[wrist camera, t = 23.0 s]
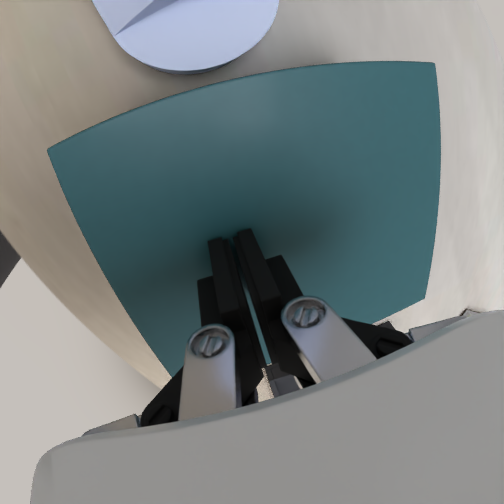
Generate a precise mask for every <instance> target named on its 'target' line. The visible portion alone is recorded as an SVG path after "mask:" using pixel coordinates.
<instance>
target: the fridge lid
mask: <svg viewBox="0 0 504 504" xmlns="http://www.w3.org/2000/svg"><path fill="white" fill-rule="evenodd" d="M47 152H48V155H49V157H50V160H51V163H52V165H53V168H54V170H55V173H56V175H57V178H58V180H59V183H60V185H61V188H62V190H63V192H64V194H65V197H66V199H67V201H68V204H69V206H70V208H71V210H72V212H73V214H74V217H75V219H76V221H77V223H78V225H79V227H80V229H81V231H82V233H83V235H84V237H85V239H86V241H87V243H88V245H89V247H90V249H91V251H92V253H93V255H94V256H95V258H96V260H97V262H98V264H99V266H100V267H101V269H102V271H103V273H104V275H105V276H106V278H107V280H108V282H109V283H110V285H111V287H112V289H113V290H114V292H115V294H116V295H117V297H118V299H119V300H120V302H121V303H122V305H123V307H124V308H125V310H126V312H127V313H128V315H129V316H130V318H131V319H132V321H133V322H134V324H135V326H136V327H137V329H138V330H139V332H140V333H141V335H142V336H143V338H144V339H145V341H146V342H147V343H148V345H149V346H150V348H151V349H152V351H153V352H154V353H155V355H156V356H157V358H158V359H159V360H160V362H161V363H162V365H163V366H164V367H165V369H166V370H167V371H168V373H169V374H170V375H171V377H172V378H173V377H174V375H175V374H176V373H177V372H178V371H179V370H180V369H181V368H182V366H183V365H184V358H185V350H186V344H187V341H188V339H189V337H190V336H191V334H192V333H194V332H195V331H196V330H197V329H199V328H201V319H200V310H199V300H198V289H197V280H199V279H202V278H205V277H209V276H212V275H213V273H212V267H211V261H210V254H209V248H208V241H210V240H213V239H216V238H219V237H222V240H226V239H228V240H229V244H230V247H231V250H232V253H233V257H234V260H235V263H236V266H237V270H238V273H239V276H240V279H241V282H242V286H243V289H244V292H245V295H246V298H247V302H248V305H249V308H250V312H251V315H252V318H253V322H254V325H255V328H256V331H257V335H258V338H259V341H260V344H261V348H262V351H263V354H264V357H265V361H266V364H270V363H271V360H270V357H269V354H268V351H267V347H266V344H265V341H264V338H263V335H262V332H261V329H260V326H259V323H258V319H257V316H256V313H255V310H254V307H253V304H252V301H251V297H250V294H249V291H248V288H247V284H246V281H245V278H244V274H243V271H242V268H241V264H240V261H239V258H238V254H237V251H236V248H235V244H234V241H233V237H236V236H238V235H237V232H239V231H243V230H246V229H249V228H251V229H252V231H253V234H254V236H255V238H256V240H257V242H258V245H259V247H260V249H261V251H262V254H263V256H264V258H265V259H268V258H271V257H275V256H278V255H282V256H283V258H284V260H285V262H286V264H287V265H288V267H289V269H290V271H291V273H292V275H293V276H294V278H295V280H296V282H297V284H298V286H299V288H300V289H301V291H302V293H303V295H304V296H307V295H310V296H317V297H319V298H322V299H323V300H325V301H326V302H327V303H328V304H329V305H330V306H331V307H332V308H333V309H334V311H335V312H336V313H337V314H338V315H339V316H340V317H342V318H347V319H351V320H355V321H359V322H363V323H368V324H373V323H375V322H377V321H379V320H381V319H384V318H386V317H388V316H390V315H392V314H394V313H396V312H398V311H400V310H403V309H405V308H407V307H409V306H411V305H413V304H415V303H417V302H419V301H421V300H423V299H424V298H425V295H426V290H427V285H428V280H429V274H430V268H431V262H432V256H433V249H434V242H435V234H436V226H437V216H438V205H439V191H440V168H441V132H440V109H439V96H438V85H437V76H436V68H435V63H432V62H413V61H366V62H346V63H333V64H322V65H313V66H304V67H297V68H290V69H283V70H277V71H271V72H265V73H260V74H255V75H250V76H245V77H240V78H236V79H231V80H227V81H223V82H219V83H215V84H211V85H207V86H203V87H200V88H196V89H193V90H189V91H186V92H182V93H179V94H176V95H173V96H170V97H166V98H163V99H160V100H157V101H155V102H152V103H149V104H146V105H143V106H141V107H138V108H135V109H133V110H130V111H127V112H125V113H122V114H120V115H117V116H115V117H113V118H110V119H108V120H105V121H103V122H101V123H99V124H96V125H94V126H92V127H90V128H88V129H85V130H83V131H81V132H79V133H77V134H75V135H73V136H71V137H69V138H67V139H65V140H63V141H61V142H59V143H57V144H55V145H53V146H51V147H50V148H48V149H47Z"/></svg>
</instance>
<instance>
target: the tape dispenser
mask: <svg viewBox="0 0 504 504" xmlns="http://www.w3.org/2000/svg"><path fill="white" fill-rule="evenodd" d="M92 2H93V4H94V5H95V7H96V9H97V10H98V12H99V14H100V15H101V17H102V19H103V20H104V22H105V24H106V25H107V27H108V29H109V30H110V32H111V34H112V36H113V37H114V39H115V40H116V41H117V43H118V44H119V45H120V46H121V47H122V48H123V49H124V50H125V51H126V52H127V53H128V54H130V55H131V56H133V57H134V58H136V59H137V60H139V61H140V62H142V63H144V64H146V65H147V66H149V67H151V68H154V69H156V70H159V71H162V72H166V73H171V74H198V73H203V72H208V71H211V70H214V69H217V68H220V67H222V66H224V65H226V64H228V63H230V62H231V61H233V60H235V59H236V58H238V57H239V56H241V55H242V54H244V53H245V52H247V51H248V50H249V49H251V48H252V47H253V46H255V45H256V44H257V43H258V42H259V41H260V40H261V39H262V38H263V36H264V35H265V34H266V32H267V31H268V30H269V28H270V26H271V24H272V23H273V21H274V18H275V15H276V13H277V8H278V3H279V0H92Z"/></svg>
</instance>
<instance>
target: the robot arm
mask: <svg viewBox="0 0 504 504" xmlns="http://www.w3.org/2000/svg"><path fill="white" fill-rule="evenodd" d="M237 235H238V236H236V237H233V241H234V244H235V248H236V251H237V254H238V258H239V261H240V264H241V268H242V271H243V274H244V278H245V281H246V284H247V288H248V291H249V294H250V297H251V301H252V304H253V307H254V310H255V313H256V316H257V319H258V323H259V326H260V329H261V332H262V335H263V338H264V341H265V344H266V347H267V351H268V354H269V357H270V360H271V363H272V365H274V364H277V363H278V364H279V367H280V370H281V371H282V372H284V373H287V374H290V375H293V376H294V378H295V381H296V383H297V385H298V386H299V388H300V390H297V391H294V392H291V393H288V394H285V395H282V396H279V397H275V398H272V399H269V400H265V401H262V402H258V392H257V389H256V387H257V385H258V384H259V383H260V381H261V380H262V378H263V377H264V375H263V372H262V368H264V367H267V364H266V361H265V357H264V354H263V351H262V348H261V344H260V341H259V338H258V335H257V331H256V328H255V325H254V322H253V318H252V315H251V312H250V308H249V305H248V302H247V298H246V295H245V292H244V289H243V286H242V282H241V279H240V276H239V273H238V270H237V266H236V263H235V260H234V257H233V253H232V250H231V247H230V244H229V240H228V239H226V240H222V237H219V238H216V239H213V240H210V241H208V248H209V254H210V261H211V267H212V273H213V275H212V276H209V277H205V278H202V279H199V280H197V289H198V300H199V310H200V319H201V328H199V329H197V330H196V331H195V332H194V333H192V334H191V336H190V337H189V339H188V341H187V344H186V350H185V358H184V365H183V366H182V368H181V369H180V370H179V371H178V372H177V373H176V374H175V375H174V377H173V378H172V379H171V380H170V381H169V382H168V383H167V384H166V385H165V387H164V388H163V389H162V390H161V391H160V392H159V393H158V394H157V396H156V397H155V398H154V399H153V400H152V401H151V402H150V404H148V405H147V407H146V408H145V410H144V411H143V412H142V415H139V416H137V415H136V414H133V415H130V416H127V417H125V418H122V419H119V420H117V421H114V422H111V423H108V424H105V425H102V426H100V427H97V428H93V429H91V430H89V431H87V432H85V433H84V434H83V435H82V436H81V437H78V438H75V439H72V440H69V441H66V442H64V443H62V444H60V445H57V446H55V447H54V448H52V449H50V450H49V451H47V453H45V454H44V455H43V456H42V457H41V459H40V460H39V462H38V464H37V467H36V470H35V473H34V477H33V483H32V490H31V501H30V504H504V310H495V311H489V312H483V313H480V314H476V315H473V316H470V317H465V316H457V317H453V318H449V319H446V320H442V321H439V322H435V323H431V324H427V325H423V326H419V327H415V328H411V329H409V332H408V333H402V332H400V331H397V330H394V329H389V328H385V327H381V326H376V325H372V324H368V323H363V322H359V321H355V320H351V319H347V318H342V317H340V316H339V315H338V314H337V313H336V312H335V311H334V309H333V308H332V307H331V306H330V305H329V304H328V303H327V302H326V301H325V300H323V299H322V298H319V297H317V296H310V295H307V296H304V295H303V293H302V291H301V289H300V288H299V286H298V284H297V282H296V280H295V278H294V276H293V275H292V273H291V271H290V269H289V267H288V265H287V264H286V262H285V260H284V258H283V256H282V255H278V256H275V257H271V258H268V259H265V258H264V256H263V254H262V251H261V249H260V247H259V245H258V242H257V240H256V238H255V236H254V234H253V231H252V229H251V228H249V229H246V230H243V231H239V232H237Z"/></svg>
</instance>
